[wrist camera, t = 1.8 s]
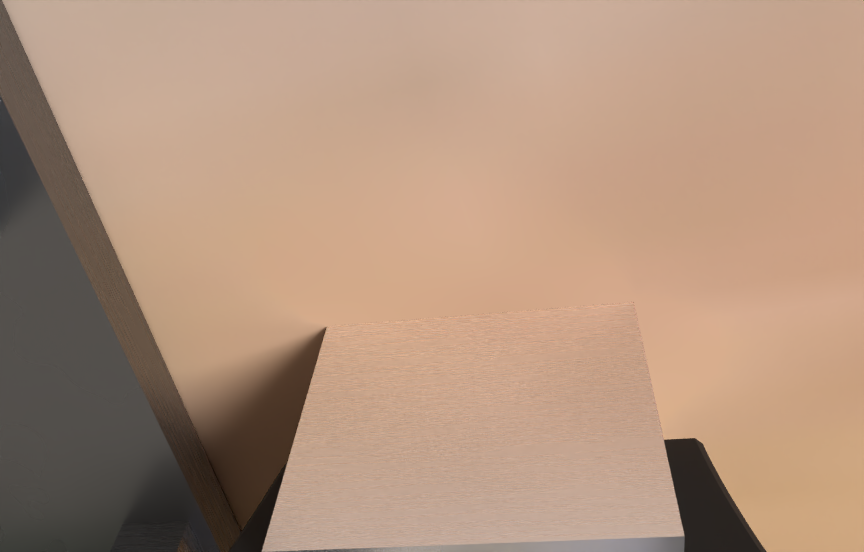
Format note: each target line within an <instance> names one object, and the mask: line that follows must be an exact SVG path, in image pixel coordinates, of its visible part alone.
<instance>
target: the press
mask: <svg viewBox="0 0 864 552" xmlns="http://www.w3.org/2000/svg"><path fill="white" fill-rule="evenodd" d="M240 533H241V531H240V529H239V527H238V524H237V522H236V520H235V518H234V515H233V513H232V511H231V509H230V507H229V504H228V502H227V500H226V498H225V495H224V493H223V491H222V489H221V487H220V484H219V482H218V480H217V478H216V475H215V473H214V471H213V469H212V467H211V464H210V462H209V460H208V458H207V455H206V453H205V451H204V449H203V447H202V444H201V442H200V440H199V438H198V435H197V433H196V431H195V429H194V427H193V424H192V422H191V420H190V418H189V415H188V413H187V411H186V409H185V407H184V404H183V402H182V400H181V398H180V395H179V393H178V391H177V389H176V387H175V384H174V382H173V380H172V378H171V375H170V373H169V371H168V369H167V366H166V364H165V362H164V360H163V358H162V355H161V353H160V351H159V349H158V346H157V344H156V342H155V340H154V338H153V335H152V333H151V331H150V329H149V326H148V324H147V322H146V320H145V318H144V315H143V313H142V311H141V309H140V306H139V304H138V302H137V300H136V298H135V295H134V293H133V291H132V289H131V286H130V284H129V282H128V280H127V278H126V275H125V273H124V271H123V269H122V266H121V264H120V262H119V260H118V258H117V255H116V253H115V251H114V249H113V246H112V244H111V242H110V240H109V237H108V235H107V233H106V231H105V229H104V226H103V224H102V222H101V220H100V217H99V215H98V213H97V211H96V209H95V206H94V204H93V202H92V200H91V197H90V195H89V193H88V191H87V189H86V186H85V184H84V182H83V180H82V177H81V175H80V173H79V171H78V169H77V166H76V164H75V162H74V160H73V157H72V155H71V153H70V151H69V149H68V146H67V144H66V142H65V140H64V137H63V135H62V133H61V131H60V129H59V126H58V124H57V122H56V120H55V117H54V115H53V113H52V111H51V109H50V106H49V104H48V102H47V100H46V97H45V95H44V93H43V91H42V88H41V86H40V84H39V82H38V80H37V77H36V75H35V73H34V71H33V68H32V66H31V64H30V62H29V60H28V57H27V55H26V53H25V51H24V48H23V46H22V44H21V42H20V40H19V37H18V35H17V33H16V31H15V28H14V26H13V24H12V22H11V20H10V17H9V15H8V13H7V11H6V8H5V6H4V4H3V2H2V0H0V552H228V551H229V550H230V548H231V547H232V545H233V544H234V543H235V541H236V540H237V538H238V536H239V535H240Z"/></svg>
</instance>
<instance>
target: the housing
mask: <svg viewBox="0 0 864 552" xmlns="http://www.w3.org/2000/svg"><path fill="white" fill-rule="evenodd" d="M684 539H685V536H684V531H683V527H682V522H681V518H680V513H679V508H678V504H677V499H676V494H675V490H674V485H673V481H672V476H671V471H670V467H669V462H668V458H667V453H666V448H665V444H664V439H663V435H662V430H661V425H660V421H659V416H658V411H657V407H656V402H655V398H654V393H653V388H652V384H651V379H650V375H649V370H648V365H647V361H646V356H645V351H644V347H643V342H642V338H641V333H640V328H639V324H638V319H637V315H636V310H635V305H634V302H627V303H615V304H602V305H590V306H577V307H564V308H552V309H539V310H527V311H514V312H502V313H489V314H477V315H464V316H452V317H439V318H426V319H414V320H401V321H389V322H376V323H364V324H351V325H339V326H327V328H326V332H325V335H324V339H323V342H322V345H321V349H320V352H319V356H318V359H317V363H316V366H315V370H314V373H313V376H312V380H311V383H310V387H309V390H308V394H307V397H306V401H305V404H304V407H303V411H302V414H301V418H300V421H299V425H298V428H297V432H296V435H295V438H294V442H293V445H292V449H291V452H290V456H289V459H288V463H287V466H286V469H285V473H284V476H283V480H282V483H281V487H280V490H279V494H278V497H277V500H276V504H275V507H274V511H273V514H272V518H271V521H270V525H269V528H268V531H267V535H266V538H265V542H264V545H263V549H262V552H684Z"/></svg>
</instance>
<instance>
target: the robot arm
mask: <svg viewBox="0 0 864 552" xmlns="http://www.w3.org/2000/svg"><path fill="white" fill-rule="evenodd" d="M664 444H665V448H666V453H667V458H668V462H669V467H670V471H671V476H672V481H673V485H674V490H675V494H676V499H677V504H678V508H679V513H680V518H681V522H682V527H683V531H684V536H685V539H684V552H766V550H765V549H764V548H763V546H762V545H761V543H760V542H759V540H758V539H757V537H756V536H755V534H754V533H753V531H752V530H751V528H750V527H749V525H748V524H747V522H746V520H745V519H744V517H743V515H742V514H741V512H740V511H739V509H738V507H737V506H736V504H735V503H734V501H733V499H732V498H731V496H730V494H729V493H728V491H727V489H726V487H725V486H724V484H723V482H722V480H721V479H720V477H719V475H718V473H717V471H716V470H715V468H714V466H713V464H712V462H711V460H710V458H709V456H708V454H707V452H706V450H705V448H704V446H703V444H702V443H701V442H699V441H698V440H697V439H695V438H690V439H671V440H664ZM287 463H288V462H287ZM287 463H286V464H285V465H284V467H283V468H282V470H281V471H280V473H279V474H278V476H277V478H276V479H275V481H274V482H273V484H272V486H271V487H270V489H269V490H268V492H267V493H266V495H265V497H264V498H263V500H262V501H261V503H260V504H259V506H258V508H257V509H256V511H255V512H254V514H253V515H252V517H251V518H250V520H249V521H248V523H247V524H246V526H245V527H244V529H243V530H242V532H241V533H240V535H239V536H238V538H237V540H236V541H235V543H234V544H233V545H232V547H231V548H230V550H229V551H228V552H262V549H263V545H264V542H265V538H266V535H267V531H268V528H269V525H270V521H271V518H272V514H273V511H274V507H275V504H276V500H277V497H278V494H279V490H280V487H281V483H282V480H283V476H284V473H285V469H286V466H287Z"/></svg>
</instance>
